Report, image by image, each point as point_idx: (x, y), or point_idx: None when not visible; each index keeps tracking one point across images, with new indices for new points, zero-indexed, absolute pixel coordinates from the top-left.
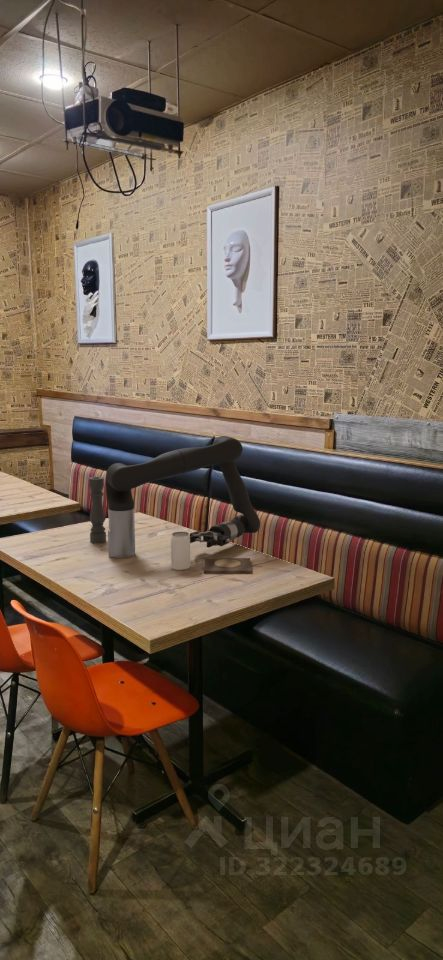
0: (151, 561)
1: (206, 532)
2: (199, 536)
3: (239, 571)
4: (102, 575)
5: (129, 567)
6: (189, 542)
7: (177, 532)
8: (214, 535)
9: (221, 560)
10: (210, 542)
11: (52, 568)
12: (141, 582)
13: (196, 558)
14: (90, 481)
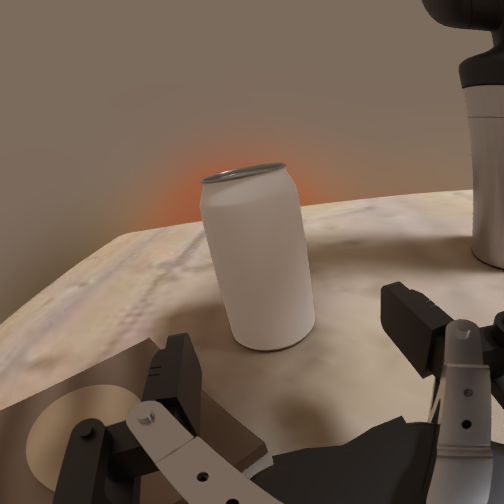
0: (415, 287)
1: (454, 449)
2: (439, 387)
3: (31, 400)
4: (355, 222)
5: (383, 248)
6: (204, 225)
7: (282, 168)
8: (204, 456)
9: None
10: (162, 354)
11: (434, 198)
12: None
13: (349, 441)
14: None
